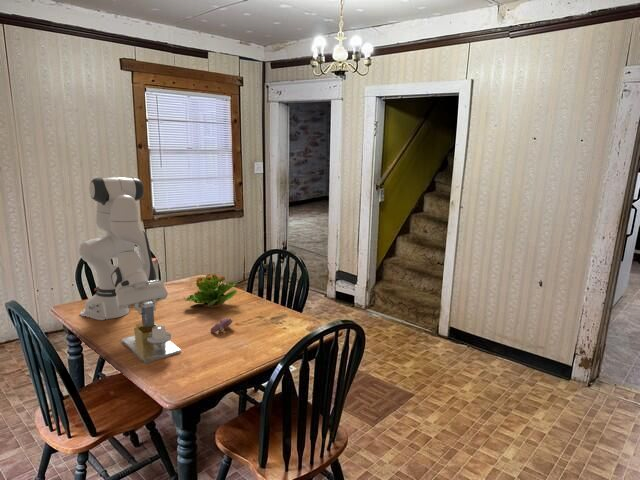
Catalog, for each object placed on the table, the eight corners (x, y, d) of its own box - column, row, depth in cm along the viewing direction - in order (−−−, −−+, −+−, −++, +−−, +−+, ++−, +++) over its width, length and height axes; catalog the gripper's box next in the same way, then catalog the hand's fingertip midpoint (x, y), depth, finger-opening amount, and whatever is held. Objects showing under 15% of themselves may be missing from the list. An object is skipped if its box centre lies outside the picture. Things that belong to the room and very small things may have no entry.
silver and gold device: (121, 341, 184) (119, 315, 182) (156, 331, 194) (154, 307, 192) (145, 365, 165) (143, 336, 163) (182, 353, 175) (181, 326, 173)
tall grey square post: (142, 324, 179) (140, 302, 177) (151, 322, 182) (149, 300, 179) (145, 327, 177) (144, 304, 174) (154, 325, 179) (153, 302, 177)
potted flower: (206, 294, 244) (205, 264, 240) (244, 299, 237) (244, 268, 234) (181, 309, 220) (179, 277, 216) (223, 316, 214) (222, 282, 210)
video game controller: (215, 337, 194) (220, 326, 191) (208, 331, 196) (213, 320, 193) (230, 329, 202) (235, 319, 199) (224, 323, 204) (228, 312, 201)
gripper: (159, 282, 191) (170, 309, 186) (111, 292, 178) (121, 321, 173) (163, 275, 187) (174, 302, 182) (114, 284, 173) (124, 314, 169)
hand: (148, 312), depth 177 cm, fingers closed on tall grey square post, 4 cm apart
